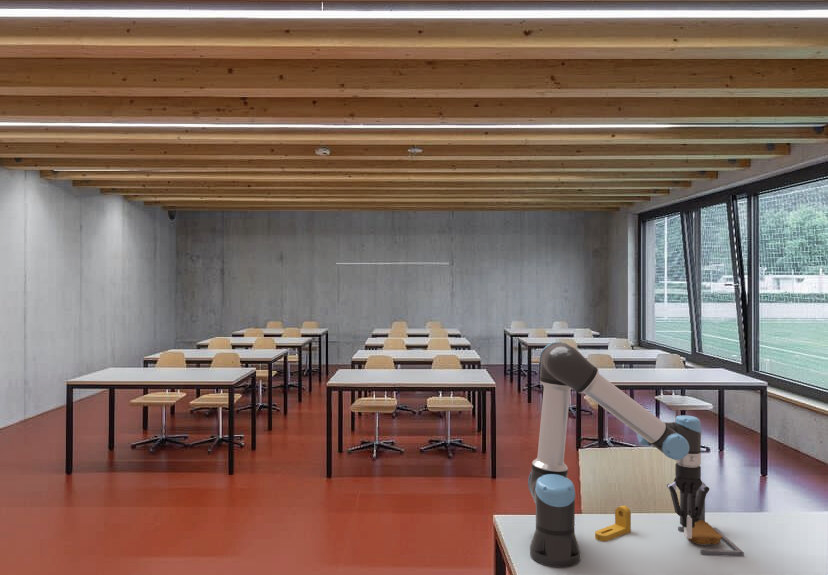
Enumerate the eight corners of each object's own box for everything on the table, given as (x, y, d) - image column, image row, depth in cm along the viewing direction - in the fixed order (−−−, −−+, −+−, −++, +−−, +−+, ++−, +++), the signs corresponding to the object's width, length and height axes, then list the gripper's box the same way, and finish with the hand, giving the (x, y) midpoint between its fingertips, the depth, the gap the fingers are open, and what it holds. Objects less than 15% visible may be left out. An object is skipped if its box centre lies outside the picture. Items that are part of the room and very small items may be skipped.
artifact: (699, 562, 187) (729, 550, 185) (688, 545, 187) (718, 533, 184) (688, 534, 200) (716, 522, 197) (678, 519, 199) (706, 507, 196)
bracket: (619, 527, 202) (619, 503, 202) (630, 532, 198) (630, 507, 198) (592, 538, 193) (592, 513, 193) (603, 542, 189) (603, 517, 189)
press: (701, 554, 181) (702, 503, 181) (671, 523, 206) (671, 477, 206) (743, 556, 180) (743, 504, 180) (707, 524, 205) (707, 478, 205)
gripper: (672, 467, 186) (671, 541, 186) (713, 468, 185) (713, 542, 185) (663, 460, 194) (663, 531, 193) (703, 461, 193) (703, 532, 193)
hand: (687, 536), depth 189 cm, fingers closed
